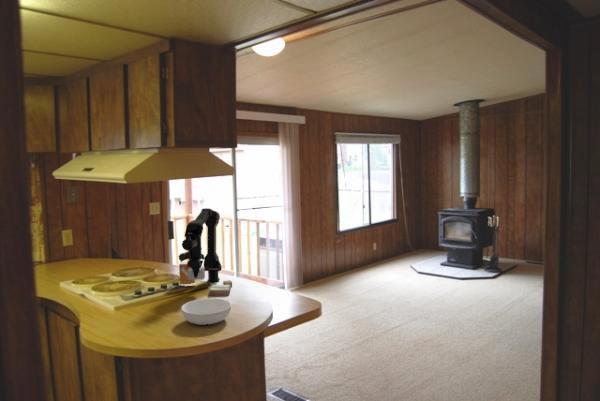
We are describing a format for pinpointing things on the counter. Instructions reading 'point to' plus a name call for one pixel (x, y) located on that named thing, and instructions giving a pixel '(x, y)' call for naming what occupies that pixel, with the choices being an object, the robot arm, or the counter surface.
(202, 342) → the counter surface
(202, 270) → the housing
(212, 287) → the stand
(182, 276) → the small box
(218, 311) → the serving bowl
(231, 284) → the oak offcut
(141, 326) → the counter surface
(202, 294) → the counter surface
